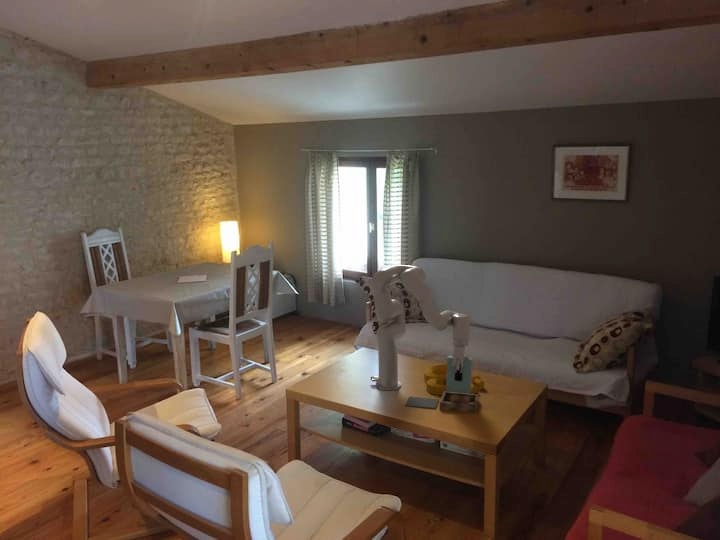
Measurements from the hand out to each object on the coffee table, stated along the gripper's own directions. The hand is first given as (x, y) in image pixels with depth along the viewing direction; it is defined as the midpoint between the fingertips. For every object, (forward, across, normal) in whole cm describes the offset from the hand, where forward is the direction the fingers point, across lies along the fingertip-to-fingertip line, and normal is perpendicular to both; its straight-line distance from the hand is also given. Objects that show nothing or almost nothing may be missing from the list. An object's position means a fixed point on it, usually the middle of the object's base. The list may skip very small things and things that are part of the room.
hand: (458, 378), depth 280 cm
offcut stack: (+12, +6, +3) cm, 13 cm away
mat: (+12, +5, -16) cm, 21 cm away
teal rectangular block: (+6, 0, 0) cm, 6 cm away
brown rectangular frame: (+11, +4, +1) cm, 12 cm away
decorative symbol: (+12, -22, -5) cm, 26 cm away
